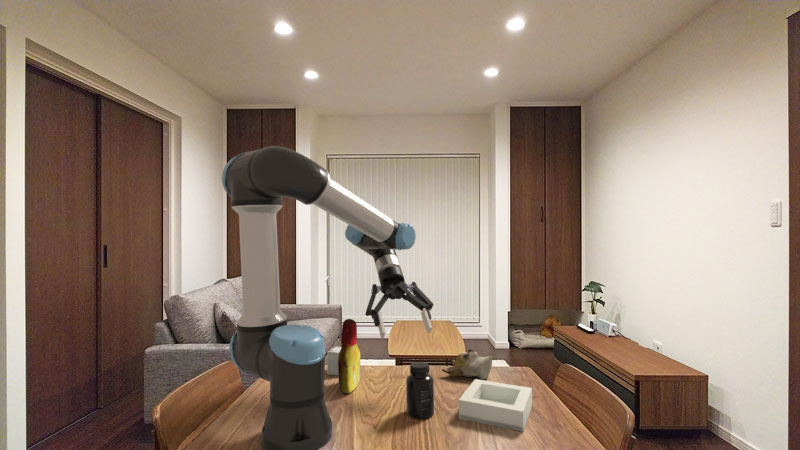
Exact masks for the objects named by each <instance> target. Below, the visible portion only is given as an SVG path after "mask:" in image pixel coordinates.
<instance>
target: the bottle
mask: <svg viewBox="0 0 800 450" xmlns="http://www.w3.org/2000/svg"><path fill="white" fill-rule="evenodd" d="M357 331H358V328H357V322H356V321H355V319H352V318H347V319H344V321H343V322H342V327H341V341H340V342H341V343H340V344H341V346H340V347H341V350H340V353H339V356H338V374H339V375H338V385H339V389H340V390H341V392H342V393H345V394H351V393H352V392H353V391H354V390H355V389H356V388H357V386H358V385H359V382H360V379H361V375H360V374H361V373H360V372H361V351H360V348H359V347H358V332H357Z"/></svg>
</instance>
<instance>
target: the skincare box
mask: <svg viewBox="0 0 800 450" xmlns="http://www.w3.org/2000/svg"><path fill="white" fill-rule="evenodd" d="M340 350H341V346H335V347H332V348H331V349H329V350H328V351H326V352H327V353H326V355H327V358H326V363H327V364H326V365H327V367H326V368H327V374H328V375H333V376H339V374H338V356H339V353H340Z"/></svg>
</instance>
